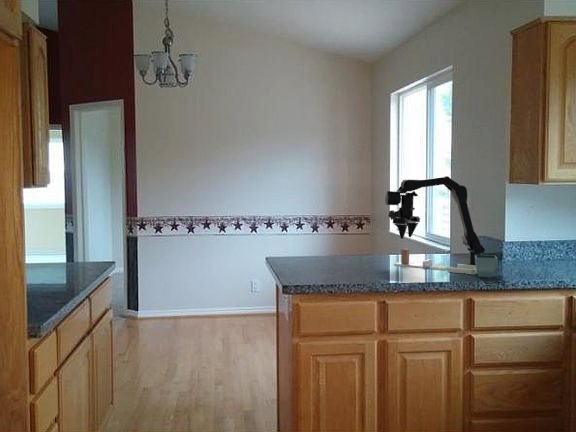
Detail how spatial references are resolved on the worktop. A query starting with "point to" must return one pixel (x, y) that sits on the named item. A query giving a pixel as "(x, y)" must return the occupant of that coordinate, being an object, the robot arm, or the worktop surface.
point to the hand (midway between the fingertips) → (405, 237)
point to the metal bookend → (406, 263)
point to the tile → (439, 267)
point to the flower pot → (485, 265)
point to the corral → (463, 269)
